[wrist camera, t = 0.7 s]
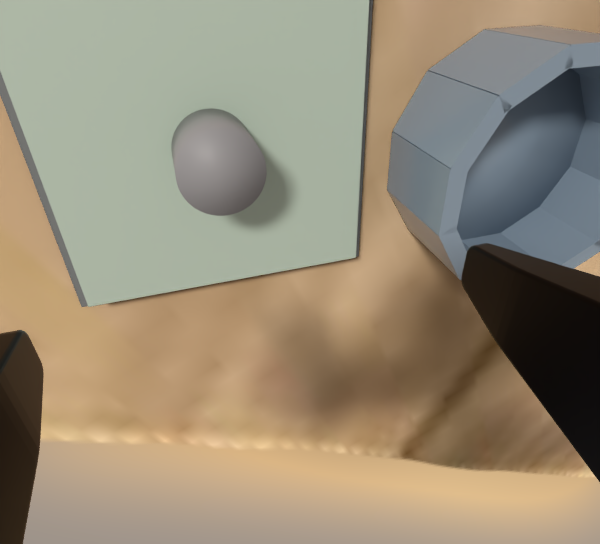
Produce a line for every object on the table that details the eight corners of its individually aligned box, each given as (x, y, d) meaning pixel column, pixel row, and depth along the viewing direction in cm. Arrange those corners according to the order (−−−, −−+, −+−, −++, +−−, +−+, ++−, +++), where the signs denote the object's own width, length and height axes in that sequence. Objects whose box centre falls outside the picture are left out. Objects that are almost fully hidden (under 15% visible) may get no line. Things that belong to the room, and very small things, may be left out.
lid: (363, -53, 17) (409, -57, 14) (350, 249, 24) (378, 288, 21) (-34, -43, 14) (-81, -46, 11) (90, 296, 21) (81, 348, 18)
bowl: (612, 20, 21) (721, 31, 17) (546, 225, 27) (615, 269, 23) (400, 35, 19) (470, 52, 15) (381, 256, 25) (426, 310, 21)
